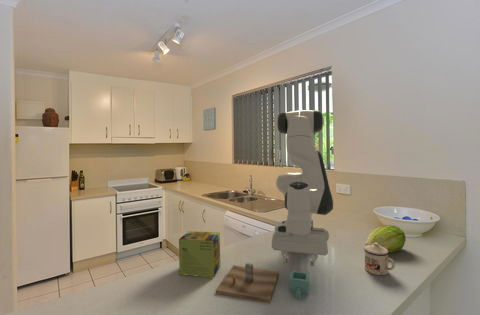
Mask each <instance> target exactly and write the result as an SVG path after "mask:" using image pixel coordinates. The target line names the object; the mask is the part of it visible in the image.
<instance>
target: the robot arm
mask: <svg viewBox="0 0 480 315" xmlns="http://www.w3.org/2000/svg"><path fill="white" fill-rule="evenodd" d="M324 117H325V116H324V115H323V112H322V111H321V110H316V109H313V110H312V109H311V110H309V109H307V110H305V109H300V110H294V111H293V110H292V111H288V112H287V111H284V112H281V113H279V114H278V115H277V119H276V121H275V122H276V123H275V124H276V128H277V131H278V132H280V134H283V135H286V151H287V154H288V156H289V160H290V163H291V164H292V165H293V166H295V167H297V168H299V169H300V170H301V172H285V173H281V174H279V175H278V176H277V178H276V181H275V184H276V189H277V190H278V191H279V192H280V193H282V195H283V196H284V208H285V209H286V210H287V216H286V220H282V221H281V220H280V221H278V222H277V223H276V224H275V226H274V232H273V234H272V239H271V248H272V250H273V251H280V253H281V255H282V257H283V259H284V260H283V261H284V263H285V264H289V261H290V260H289V259H290V256H287V255H286V252H288V253H297V254H298V253H300V254H307V255H313V258H312V259H311V258H310V266H312V267H315V264H316V261H317V259H318V257H319V256H327V255H329V254H328V253H329V245H328V241H329V240H330V234H329V231H328V230H327V229H325V228H323V227H322V228H319V227H314V220H313V214H315V215H322V216H326V215H328V214H329V213H331V212H332V211H333V210H334V206H335V205H334V197H333V194H332V192H331V188H330V184H329V181H328V174H327V171H326V167H325V163H324V158H323V155H322V154H321V151H320V150H317V149H316V148H315V144H314V142H313V135H316V134H317V133H319V132H320V131H321V130H323V127H324V125H325V118H324Z"/></svg>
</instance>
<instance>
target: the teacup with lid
mask: <svg viewBox="0 0 480 315" xmlns="http://www.w3.org/2000/svg"><path fill="white" fill-rule="evenodd" d="M363 250H364V269H365V271H366V272H368V273H370V274H373V275H377V276H386V275H387V274H388V273H389V271H393V270H394V269H395V266H396V263H395V261H394V260H393V258H390V257H389V253H390V252H388V250H387V249H386V248H384V247H381V246H380V245H379V244H378V243H374V244H373V245H368V246H365V245H364V248H363ZM389 262H390V263H391V267H389Z"/></svg>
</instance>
